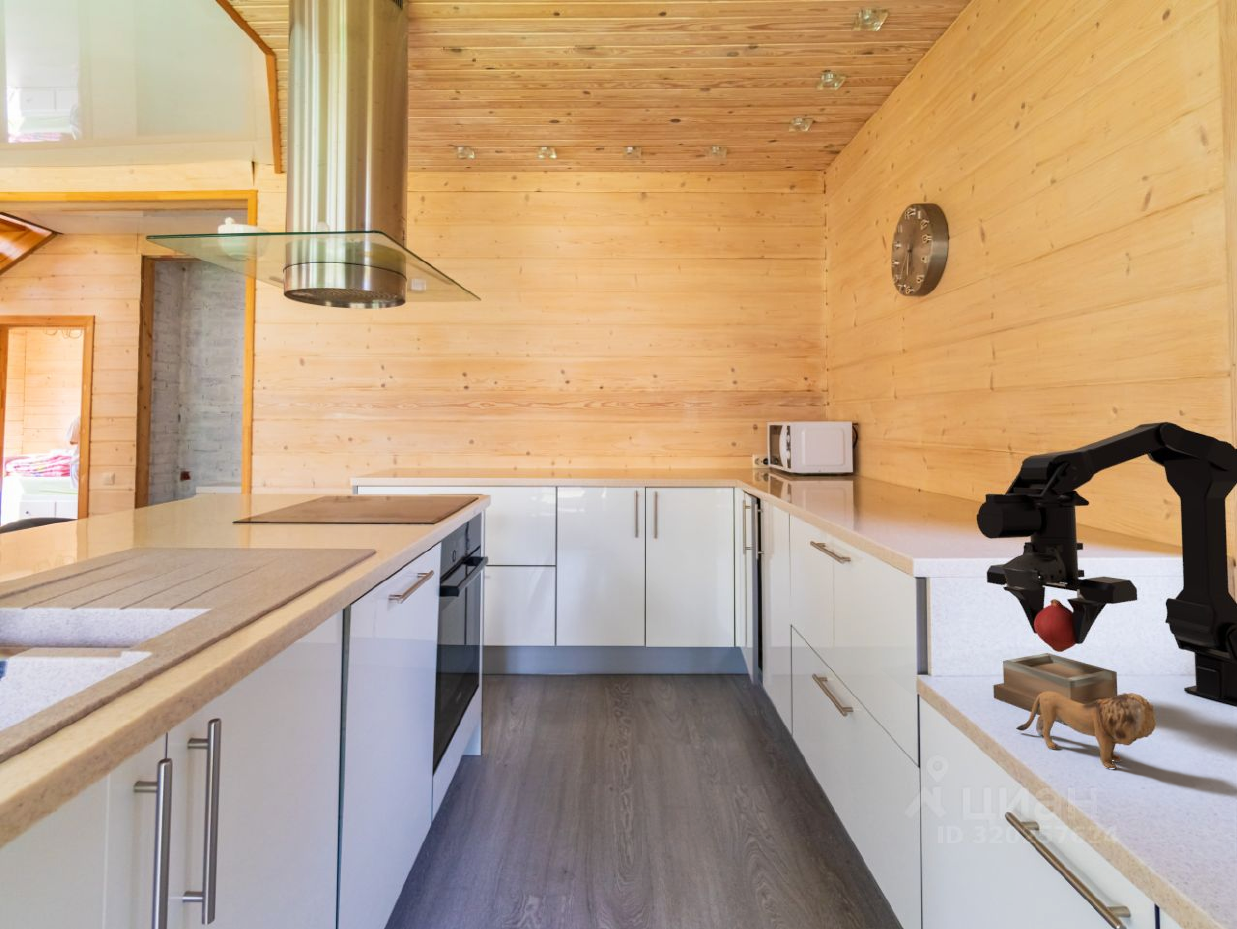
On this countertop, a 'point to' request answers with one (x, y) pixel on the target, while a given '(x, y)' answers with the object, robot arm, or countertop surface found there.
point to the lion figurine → (1096, 720)
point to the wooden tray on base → (1053, 680)
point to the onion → (1056, 626)
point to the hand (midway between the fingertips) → (1057, 638)
